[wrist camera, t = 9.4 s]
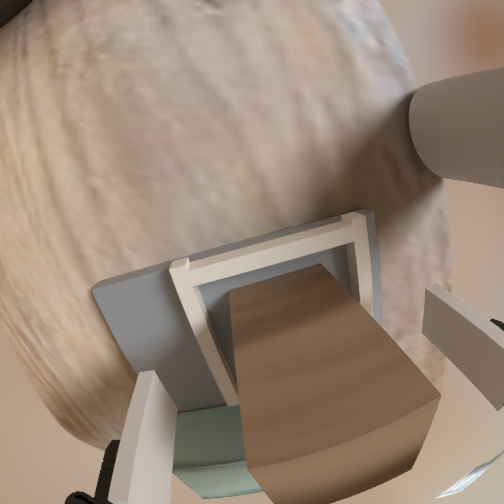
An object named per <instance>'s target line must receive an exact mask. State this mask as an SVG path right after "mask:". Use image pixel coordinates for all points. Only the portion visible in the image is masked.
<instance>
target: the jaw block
mask: <svg viewBox="0 0 504 504" xmlns="http://www.w3.org/2000/svg"><path fill="white" fill-rule="evenodd" d="M229 303H230V314H231V326H232V337H233V347H234V358H235V368H236V377H237V387H238V396H239V405H240V414H241V423H242V431H243V439H244V447H245V455H246V463H247V470H248V471H249V472H250V474H251V475H252V476H253V478H254V479H255V480H256V482H257V483H258V484H259V486H260V487H261V488H262V489H263V491H264V492H265V493H266V494H267V496H268V497H269V498H270V499H271V501H272V502H273V503H274V504H330V503H333V502H336V501H339V500H342V499H345V498H348V497H351V496H353V495H356V494H358V493H361V492H364V491H366V490H368V489H371V488H373V487H376V486H378V485H380V484H382V483H384V482H387V481H389V480H391V479H393V478H395V477H397V476H399V475H401V474H403V473H405V472H407V471H409V470H411V469H412V467H413V465H414V463H415V461H416V459H417V456H418V454H419V452H420V450H421V448H422V445H423V443H424V441H425V438H426V436H427V433H428V431H429V428H430V426H431V423H432V421H433V418H434V415H435V412H436V410H437V407H438V404H439V401H440V398H441V394H440V393H439V392H438V391H437V389H436V388H435V387H434V386H433V385H432V384H431V382H430V381H429V380H428V379H427V378H426V377H425V375H424V374H423V373H422V372H421V371H420V370H419V368H418V367H417V366H416V365H415V364H414V363H413V362H412V360H411V359H410V358H409V357H408V356H407V355H406V354H405V353H404V351H403V350H402V349H401V348H400V347H399V346H398V345H397V344H396V342H395V341H394V340H393V339H392V338H391V337H390V336H389V335H388V334H387V333H386V331H385V330H384V329H383V328H382V327H381V326H380V325H379V324H378V323H377V322H376V321H375V319H374V318H373V317H372V316H371V315H370V314H369V313H368V312H367V311H366V310H365V309H364V308H363V307H362V305H361V304H360V303H359V302H358V301H357V300H356V299H355V298H354V297H353V296H352V295H351V294H350V293H349V292H348V291H347V290H346V289H345V288H344V287H343V286H342V284H341V283H340V282H339V281H338V280H337V279H336V278H335V277H334V276H333V275H332V274H331V273H330V272H329V271H328V270H327V269H326V268H325V267H324V266H323V265H322V264H321V263H319V264H316V265H313V266H310V267H306V268H303V269H300V270H296V271H293V272H290V273H286V274H283V275H280V276H276V277H273V278H269V279H266V280H263V281H259V282H256V283H252V284H249V285H245V286H242V287H238V288H234V289H231V290H229Z"/></svg>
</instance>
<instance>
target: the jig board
mask: <svg viewBox="0 0 504 504" xmlns="http://www.w3.org/2000/svg"><path fill="white" fill-rule="evenodd" d="M319 263H321V264H322V265H323V266H324V267H325V268H326V269H327V270H328V271H329V272H330V273H331V274H332V275H333V276H334V277H335V278H336V279H337V280H338V281H339V282H340V283H341V284H342V286H343V287H344V288H345V289H346V290H347V291H348V292H349V293H350V294H351V295H352V296H353V297H354V298H355V299H356V300H357V301H358V302H359V303H360V304H361V305H362V307H363V308H364V309H365V310H366V311H367V312H368V313H369V314H370V315H371V316H372V317H373V318H374V319H375V321H376V322H377V323H378V324H379V325H380V326H381V327H382V309H381V280H380V264H379V251H378V240H377V231H376V222H375V214H374V212H372V211H370V210H367V209H360V210H356V211H353V212H349V213H345V214H341V215H337V216H333V217H330V218H326V219H322V220H318V221H314V222H311V223H307V224H303V225H299V226H296V227H292V228H288V229H284V230H281V231H277V232H273V233H269V234H266V235H262V236H258V237H255V238H251V239H247V240H244V241H240V242H237V243H233V244H229V245H226V246H222V247H218V248H215V249H211V250H208V251H204V252H201V253H197V254H193V255H190V256H186V257H183V258H179V259H176V260H172V261H169V262H165V263H162V264H158V265H155V266H151V267H148V268H144V269H141V270H137V271H134V272H130V273H127V274H124V275H120V276H117V277H113V278H110V279H106V280H103V281H100V282H98V283H97V284H96V285H95V287H94V288H93V289H92V290H91V291H92V293H93V295H94V297H95V300H96V302H97V304H98V306H99V308H100V310H101V312H102V314H103V316H104V318H105V320H106V322H107V324H108V326H109V328H110V330H111V332H112V334H113V336H114V337H115V339H116V341H117V343H118V345H119V347H120V348H121V350H122V352H123V354H124V355H125V357H126V359H127V360H128V362H129V364H130V365H131V367H132V369H133V370H134V372H135V374H136V375H137V377H138V375H139V372H145V371H151V370H154V371H155V373H156V375H157V376H158V378H159V380H160V381H161V383H162V384H163V386H164V388H165V389H166V391H167V392H168V394H169V396H170V397H171V399H172V400H173V402H174V403H175V405H176V406H177V408H178V412H177V413H185V412H192V411H198V410H204V409H210V408H215V407H221V406H226V405H228V407H231V406H236V405H239V396H238V387H237V377H236V368H235V358H234V347H233V337H232V326H231V314H230V303H229V290H231V289H234V288H238V287H242V286H245V285H249V284H252V283H256V282H259V281H263V280H266V279H269V278H273V277H276V276H280V275H283V274H286V273H290V272H293V271H296V270H300V269H303V268H306V267H310V266H313V265H316V264H319Z"/></svg>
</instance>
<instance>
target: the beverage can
mask: <svg viewBox="0 0 504 504" xmlns="http://www.w3.org/2000/svg"><path fill="white" fill-rule="evenodd" d="M409 127H410V133H411V137H412V141H413V144H414V147H415V149H416V151H417V153H418V155H419V157H420V158H421V160H422V161H423V163H424V164H425V165H426V167H427V168H428V169H429V170H430V171H432V172H433V173H434V174H436V175H438V176H440V177H443V178H448V179H454V180H460V181H466V182H473V183H478V184H483V185H488V186H493V187H498V188H503V189H504V67H500V68H494V69H489V70H484V71H479V72H474V73H469V74H465V75H460V76H456V77H452V78H448V79H444V80H440V81H436V82H432V83H429V84H426V85H424V86H422V87H420V88H419V89H418V90H417V91H416V93H415V94H414V96H413V98H412V100H411V104H410V108H409Z"/></svg>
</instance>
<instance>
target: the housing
mask: <svg viewBox="0 0 504 504" xmlns="http://www.w3.org/2000/svg"><path fill="white" fill-rule="evenodd" d="M172 473H174V474H175V475H176V476H177V477H178V478H179V479H180V480H181V481H183V482H184V483H185V484H186V485H187V486H188V487H189V488H191V489H192V490H193V491H194V492H195V493H197V494H198V495H199V496H200V497H202V498H203V499H210V498H222V497H231V496H239V495H246V494H251V493H258V492H263V489H262V488H261V487H260V486H259V484H258V483H257V482H256V480H255V479H254V478H253V476H252V475H251V474H250V472H249V471H248V470H247V463H246V455H245V447H244V439H243V431H242V423H241V414H240V405H236V406H231V407H228V405H226V406H221V407H215V408H210V409H204V410H198V411H192V412H185V413H177V421H176V432H175V443H174V455H173V468H172Z"/></svg>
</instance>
